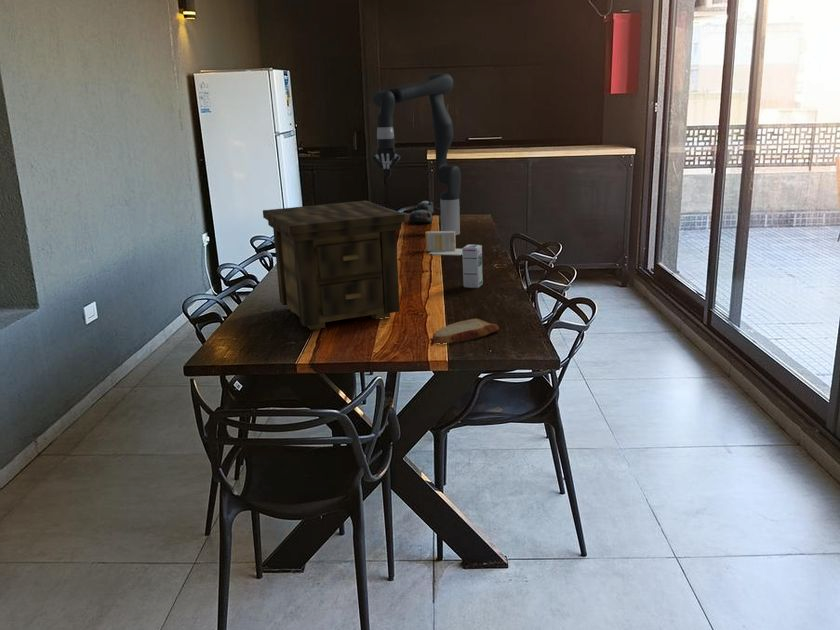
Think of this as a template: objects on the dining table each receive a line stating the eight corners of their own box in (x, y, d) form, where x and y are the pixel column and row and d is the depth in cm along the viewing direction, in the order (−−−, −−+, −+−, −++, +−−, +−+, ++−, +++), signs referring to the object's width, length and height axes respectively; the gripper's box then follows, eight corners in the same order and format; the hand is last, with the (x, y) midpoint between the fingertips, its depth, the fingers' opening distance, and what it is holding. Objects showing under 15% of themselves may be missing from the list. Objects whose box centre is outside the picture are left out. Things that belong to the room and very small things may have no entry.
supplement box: (426, 249, 324) (455, 249, 323) (425, 251, 319) (455, 251, 318) (425, 230, 322) (455, 230, 320) (425, 232, 317) (455, 232, 316)
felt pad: (435, 249, 326) (435, 248, 326) (475, 249, 321) (475, 248, 321) (428, 254, 315) (428, 253, 315) (469, 255, 310) (469, 254, 310)
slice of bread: (429, 345, 203) (429, 332, 202) (440, 325, 220) (440, 314, 219) (494, 347, 199) (494, 334, 198) (500, 327, 216) (500, 315, 215)
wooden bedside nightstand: (371, 293, 256) (365, 200, 247) (409, 319, 226) (405, 214, 216) (272, 308, 243) (262, 210, 234) (299, 337, 213) (289, 226, 203)
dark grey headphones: (403, 222, 395) (408, 198, 397) (423, 229, 400) (428, 205, 402) (415, 218, 381) (421, 192, 384) (435, 225, 387) (441, 200, 389)
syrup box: (478, 288, 258) (478, 247, 254) (462, 287, 260) (462, 247, 256) (483, 284, 264) (482, 244, 259) (467, 283, 266) (466, 244, 261)
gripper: (402, 136, 326) (404, 176, 331) (374, 137, 329) (376, 176, 334) (397, 137, 319) (399, 178, 324) (368, 138, 322) (371, 178, 327)
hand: (387, 177), depth 329 cm, fingers closed
